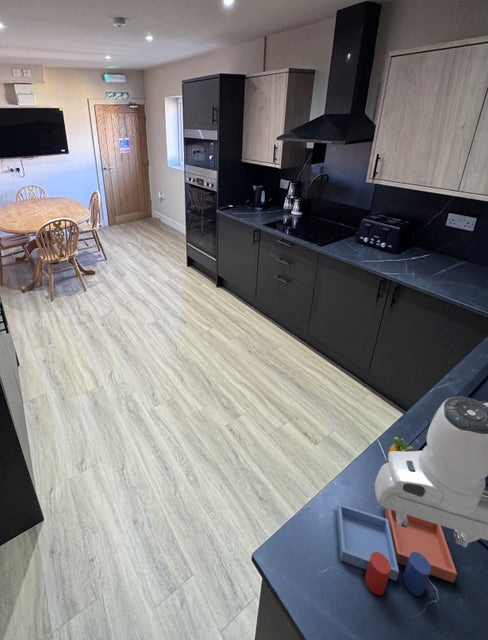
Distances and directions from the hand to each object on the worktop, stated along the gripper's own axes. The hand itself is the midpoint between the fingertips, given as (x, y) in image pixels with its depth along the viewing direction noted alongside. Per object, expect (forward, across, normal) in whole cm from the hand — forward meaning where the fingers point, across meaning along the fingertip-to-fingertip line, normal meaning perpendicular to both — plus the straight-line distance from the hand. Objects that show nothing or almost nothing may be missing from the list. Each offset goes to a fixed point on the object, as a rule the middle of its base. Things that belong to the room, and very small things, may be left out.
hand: (429, 531), depth 62 cm
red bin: (+17, -3, -8) cm, 19 cm away
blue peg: (+17, 0, 0) cm, 17 cm away
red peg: (+17, +7, +2) cm, 18 cm away
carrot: (+17, -1, -22) cm, 28 cm away
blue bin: (+17, +8, -5) cm, 19 cm away
